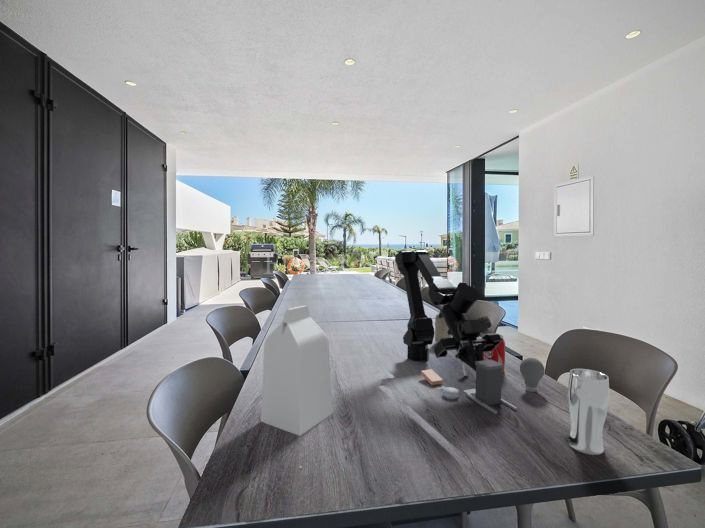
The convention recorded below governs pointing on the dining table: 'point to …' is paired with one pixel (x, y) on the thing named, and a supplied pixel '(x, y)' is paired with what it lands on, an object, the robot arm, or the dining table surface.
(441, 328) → the carving
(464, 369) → the lever
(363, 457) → the dining table surface
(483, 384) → the grey lidded box
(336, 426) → the dining table surface
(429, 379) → the rocker
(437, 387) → the panel
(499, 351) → the soda can
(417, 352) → the robot arm
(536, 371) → the light bulb
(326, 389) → the milk
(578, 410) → the beer glass
